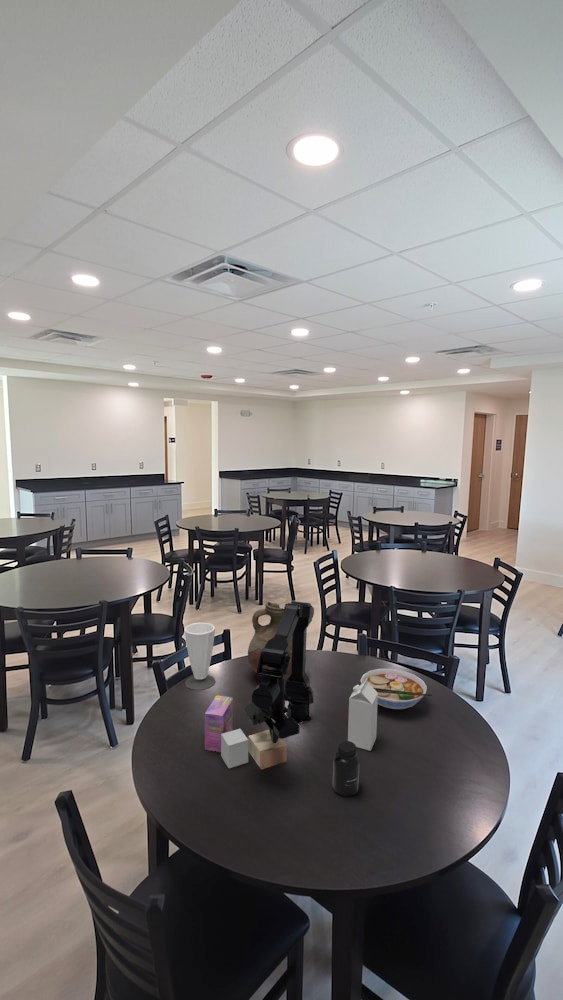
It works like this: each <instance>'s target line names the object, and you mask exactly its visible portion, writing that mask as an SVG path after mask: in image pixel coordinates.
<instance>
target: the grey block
mask: <svg viewBox="0 0 563 1000" xmlns="http://www.w3.org/2000/svg"><path fill="white" fill-rule="evenodd" d="M220 756H221V758H222V760H223V762H224V763H225V765H226V767H227V768H228V769H231V768H236V767H238V766H242V765H244V764H248V763H249V751H248V737H247V736H246V734H245V733H244V731H243V730H242V729H241V728H238V729H233V731H230V732H226V733H223V734H221V752H220Z"/></svg>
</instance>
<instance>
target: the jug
mask: <svg viewBox="0 0 563 1000" xmlns="http://www.w3.org/2000/svg"><path fill="white" fill-rule="evenodd" d="M264 606H265V608H263V609H261V608H260V609H258V610H256V611H255V612H254V613H253V615H252V618H251V619H252V620H251V623H252V627H253V629H254V634H253V636H252V638H251V640H250V642H249V645H248V648H247V659H248V663H249V664H250V666H251V668H252V669H253V671H254V672H255V674H256V673H257V668H258V663H259V659H260V654H261V651H262V649H264V647H265V645H266V643H267V641H268V640H270V639H272V638H273V637H274V636H275V633H276V631H277V628H278V626H279V623H280V621H281V619H282V616H283V614H284V608H283V607H281V606H280V604H279V603H276V602H271V601H267V602H266V603H265V605H264ZM262 616H263V617H264V616H269V617H270V621H269V623H267V624H265V625H261V624H260V623H259V619H260V617H262ZM289 652H290V657H291V661H290V666H289V670H288V674H286V676H285V682H286V681H287V679H288V678H289V676H290V675H291V663H292V638H291V640H290V643H289ZM262 668H264V669H269V668H270V667H265V666H264V665H263V667H262Z"/></svg>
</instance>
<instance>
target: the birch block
mask: <svg viewBox="0 0 563 1000" xmlns="http://www.w3.org/2000/svg"><path fill="white" fill-rule="evenodd" d="M247 739H248V754H250V755H251V757H252V758H253V760H254V761H255V763H256V765H257V766H258V767H259V769H260V770H265V769H267V768H271V767H274V766H276V765H280V764H283V763H286V762H287V755H288V754H287V751H288V749H287V748H288V747H287V746H288V745H287V744H286V743H285V742H284V741H283V739H280V738H279V739H278V741H277V742H276V743H273V742H272V740H271V736H270V733H269V729H266V730H263V731H260V732H257V733H253V734H251V735H248V737H247Z"/></svg>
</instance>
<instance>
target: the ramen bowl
mask: <svg viewBox="0 0 563 1000" xmlns="http://www.w3.org/2000/svg"><path fill="white" fill-rule="evenodd" d="M366 679H367V682H368V683H369V684H370V685H371V686H372V687H373V688H374V689H375V690H376V691H377V693H378V704H377V705H379V706H381V707H384V708H387V709H392V710H405V709H408V708H412V707H414V705H416V704H417V703H419V702H420V701H421V700H422V699H423V698H424V697H431V694H429V693H427V688H428V686H427V685H426V683H425V681H424V680H423V679H421V678H420V677H419V676H417V675H415V674H414V673H411V672H408V671H405V670H401V669H397V668H396V669H395V668H377V669H376V668H375V669H371V670H368V671H366V673H364V674H362V676H361V678H360V680H359V681H360V683H361V684H363V683H364V682H365V680H366ZM361 684H360V685H361Z"/></svg>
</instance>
